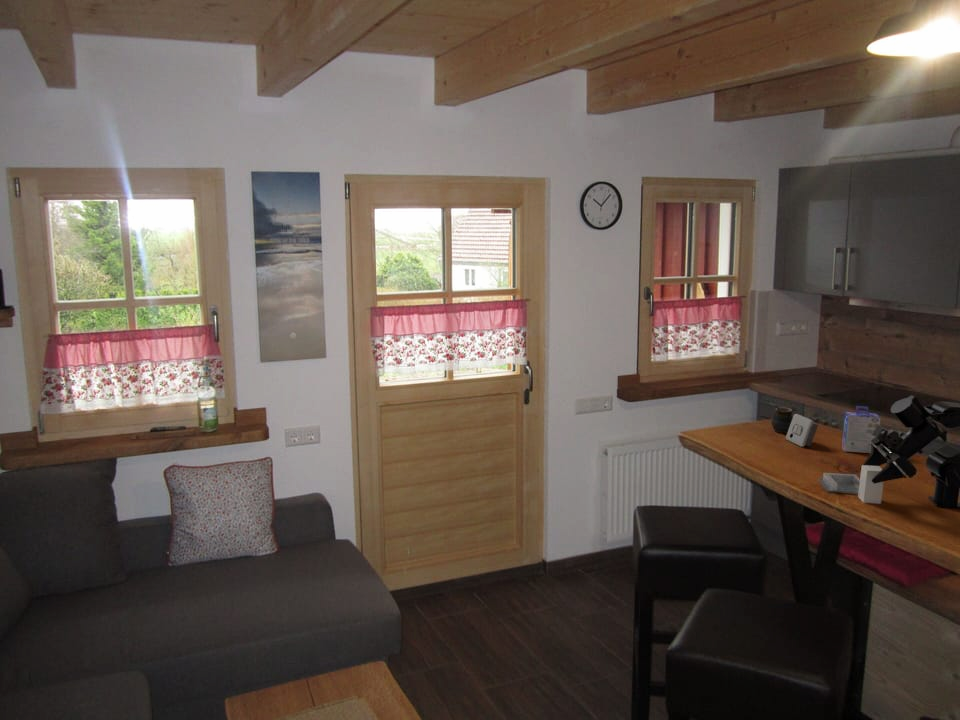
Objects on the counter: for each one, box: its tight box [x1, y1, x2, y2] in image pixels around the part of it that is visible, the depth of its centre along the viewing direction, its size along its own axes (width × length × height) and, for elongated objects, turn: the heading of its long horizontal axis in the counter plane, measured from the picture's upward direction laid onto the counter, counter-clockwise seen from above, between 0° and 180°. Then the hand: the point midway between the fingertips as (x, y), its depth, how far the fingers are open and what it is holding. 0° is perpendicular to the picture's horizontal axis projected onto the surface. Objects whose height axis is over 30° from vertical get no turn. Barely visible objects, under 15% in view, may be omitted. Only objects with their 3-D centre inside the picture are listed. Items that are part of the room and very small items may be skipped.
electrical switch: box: [785, 413, 819, 448], centre depth 262 cm, size 9×5×9 cm, turn 13°
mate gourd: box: [771, 404, 793, 434], centre depth 275 cm, size 7×8×10 cm
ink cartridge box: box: [841, 405, 882, 454], centre depth 254 cm, size 10×6×14 cm, turn 78°
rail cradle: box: [817, 472, 860, 495], centre depth 221 cm, size 10×11×2 cm
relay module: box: [857, 464, 886, 505], centre depth 211 cm, size 4×5×9 cm
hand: (866, 476), depth 211 cm, fingers open, 9 cm apart
